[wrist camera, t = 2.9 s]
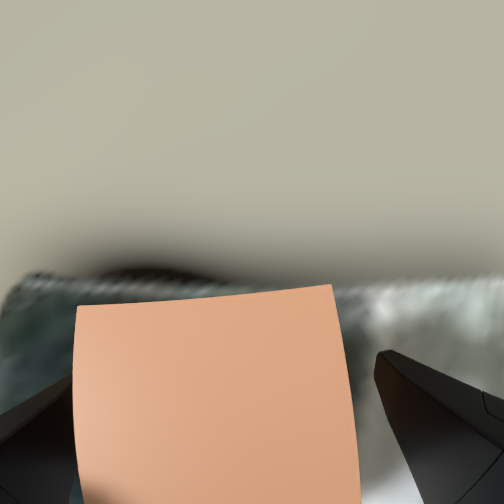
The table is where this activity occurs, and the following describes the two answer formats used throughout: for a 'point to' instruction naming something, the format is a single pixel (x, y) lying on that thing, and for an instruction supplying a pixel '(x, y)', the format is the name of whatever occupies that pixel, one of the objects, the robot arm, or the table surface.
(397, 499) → the table surface
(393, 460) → the table surface
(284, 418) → the post
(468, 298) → the table surface
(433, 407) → the robot arm
